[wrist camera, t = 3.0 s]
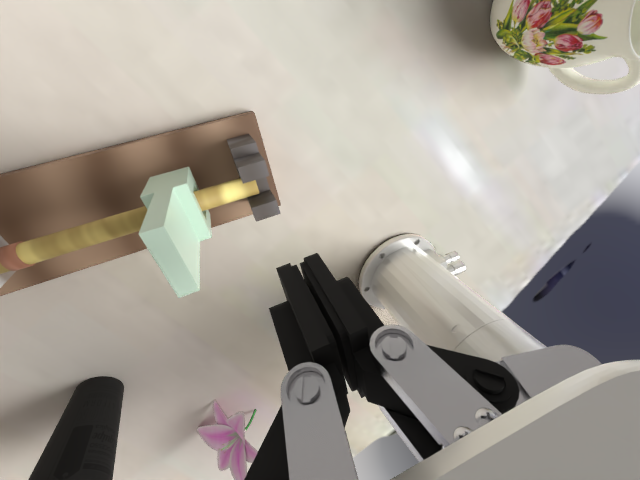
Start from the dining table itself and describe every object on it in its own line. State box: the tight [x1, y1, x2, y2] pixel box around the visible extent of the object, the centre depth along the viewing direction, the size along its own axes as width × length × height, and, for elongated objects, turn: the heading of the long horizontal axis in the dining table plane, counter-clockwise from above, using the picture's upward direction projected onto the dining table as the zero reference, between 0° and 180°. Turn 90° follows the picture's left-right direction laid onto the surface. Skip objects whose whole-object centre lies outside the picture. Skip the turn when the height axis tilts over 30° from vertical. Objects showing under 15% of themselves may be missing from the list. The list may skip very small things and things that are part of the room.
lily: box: [197, 400, 258, 480], centre depth 42 cm, size 12×12×10 cm
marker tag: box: [139, 167, 212, 298], centre depth 20 cm, size 3×4×10 cm
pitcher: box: [490, 0, 640, 94], centre depth 25 cm, size 11×18×14 cm, turn 41°
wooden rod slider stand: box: [0, 111, 281, 296], centre depth 22 cm, size 26×9×8 cm, turn 101°
